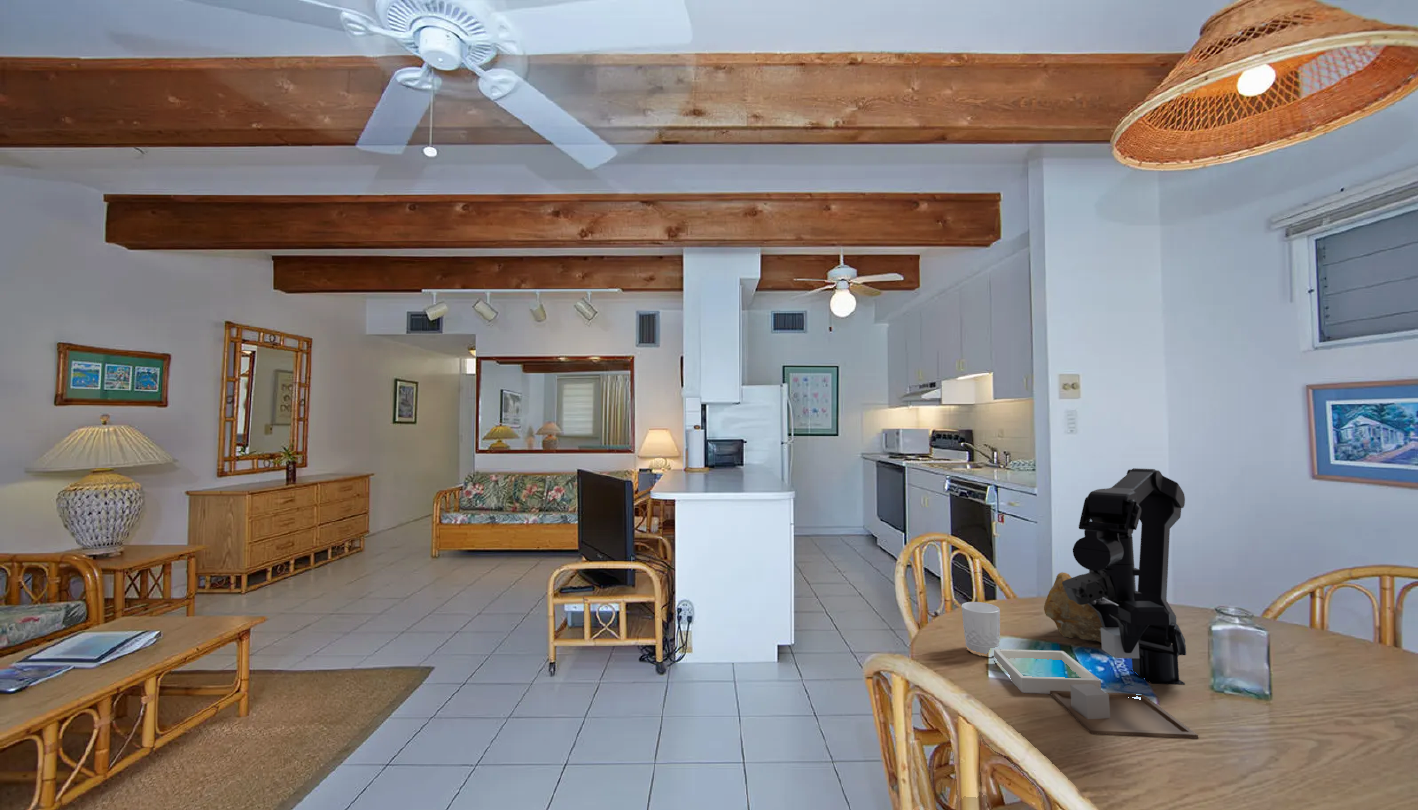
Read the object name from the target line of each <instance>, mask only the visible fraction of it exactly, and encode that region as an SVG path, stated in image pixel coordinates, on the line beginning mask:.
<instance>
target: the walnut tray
mask: <svg viewBox="0 0 1418 810" xmlns="http://www.w3.org/2000/svg"><path fill="white" fill-rule="evenodd" d="M1106 693H1107V694H1109V707H1110V718H1103V719H1087V718H1085V717H1084V716H1083V715H1081V714H1080V713H1078V712H1077V711H1075V710H1074V709H1073V708H1072V706H1071V691H1050V694H1049V695H1051V696H1052V697H1053V698H1054V699H1055V700H1056V701H1057V702H1058V703H1059V704H1060V705H1061V706H1062V707H1063V708H1064V709H1065V710H1066V711H1067V712H1068V713H1069V714H1070V715H1071V716H1072V717H1073V718H1074V719H1075V720H1076V721H1077V722H1078V723H1079V724H1080V725H1082V727H1084V729H1086V730H1087V731H1088V732H1089V734H1091V735H1109V736H1110V735H1111V736H1112V735H1114V736H1132V737H1133V736H1136V737H1154V738H1155V737H1156V738H1157V737H1160V738H1185V739H1199V734H1198V733H1196V732H1195V731H1194V730H1192V729H1191V728H1190V727H1188V726H1187V725H1185V724H1184V723H1182V722H1181V721H1180V720H1179V719H1177V718H1176V717H1175V716H1173V715H1171V714H1170V713H1169V712H1168V711H1167V710H1165V709H1163V707H1161V706H1159V705H1158V704H1157V703H1156V702H1154V701H1152V700H1151V698H1149V697H1148V696H1146V695H1145V694H1143V693H1141V694H1142V695H1136V694H1137V693H1131V692H1130V693H1128V692H1127V693H1126V692H1106ZM1136 696H1138V697H1141V700H1139V699H1134V698H1132V697H1136ZM1128 697H1129V698H1128Z"/></svg>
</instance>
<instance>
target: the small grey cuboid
mask: <svg viewBox="0 0 1418 810" xmlns="http://www.w3.org/2000/svg"><path fill="white" fill-rule="evenodd" d="M1070 688H1071V706H1072V708H1073V709H1074V710H1075V711H1077V712H1078V713H1080V714H1081V715H1083V716H1084V717H1085V718H1087V719H1103V718H1110V707H1109V694H1107V693H1108V692H1107V691H1104V690H1102V688H1101V689H1099V688H1098V687H1096V686H1094V685H1093V684H1080V685H1070Z"/></svg>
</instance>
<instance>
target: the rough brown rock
mask: <svg viewBox="0 0 1418 810" xmlns="http://www.w3.org/2000/svg"><path fill="white" fill-rule="evenodd" d="M1070 578H1073V576H1071V575H1070V574H1069V573H1067V572H1063V571H1062V572H1059V573H1058V574H1057V575H1056V578H1055V580H1054V582H1053V585H1052V586H1051V588H1050V590H1049V591H1048V594H1047V597H1046V599H1045V602H1044V606H1043V611H1044V614H1045V616H1046V617H1048V618H1049V619H1051V620H1052V621H1053V622H1054V624H1055V625H1056V628H1057V630H1058V632H1059V633H1060V635H1061V636H1062V637H1064V636H1065V637H1064V638H1066V637H1069V638H1068V639H1072V638H1080V639H1081V640H1084V641H1086V640H1087V641H1097V642H1099V643H1101V627H1102V624H1101V621H1100V619H1099V617H1098V614H1097V612H1096V611H1095V610H1094V609H1093V608H1092V607H1091V606H1089V605H1088V604H1084V605H1079V604H1077V603H1076V602H1075V601H1073V600H1070V599H1069V598H1068V596H1067V594H1066V591H1065V589H1064V587H1063V584H1062V582H1063V581H1065V580H1067V579H1070Z"/></svg>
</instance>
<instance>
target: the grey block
mask: <svg viewBox="0 0 1418 810" xmlns="http://www.w3.org/2000/svg"><path fill="white" fill-rule="evenodd" d="M1100 643H1101V650H1102V651H1104V652H1105V653H1106V654H1108V655H1110V656H1111V657H1113V658H1115V659H1132V658H1139V643H1138V642H1137V644H1136V646H1135V648H1134V649H1133V651H1132V653H1125V652H1124V650H1123V646H1122V642H1121V637H1120V631H1119V627H1101V642H1100Z"/></svg>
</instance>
